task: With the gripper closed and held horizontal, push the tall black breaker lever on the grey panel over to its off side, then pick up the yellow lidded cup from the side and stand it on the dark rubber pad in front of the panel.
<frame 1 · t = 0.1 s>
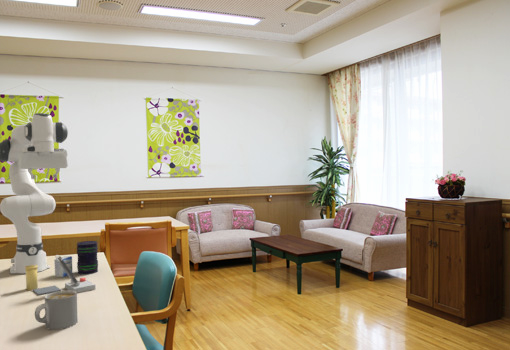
hand: (44, 178, 201), 48 cm above the table, tool pointing down, fingers open, 8 cm apart
yellow lidded cup: (32, 288, 192), on the table
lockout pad: (46, 290, 188), on the table
storage jar: (87, 272, 221), on the table
panel: (80, 288, 191), on the table
toggle: (67, 270, 187), point 9 cm above the table, hinge at 30.0°
coffee mug: (56, 325, 147), on the table
medicine box: (63, 275, 216), on the table
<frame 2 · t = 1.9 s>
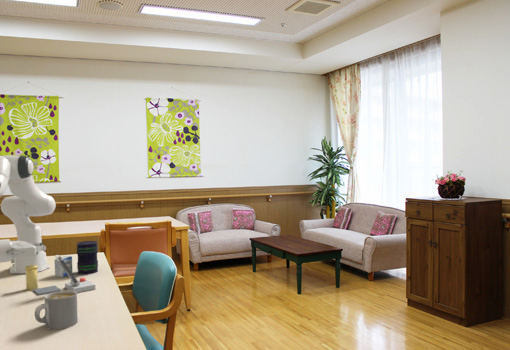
hand: (42, 246, 181), 21 cm above the table, tool horizontal, fingers open, 8 cm apart
nothing on the table moved.
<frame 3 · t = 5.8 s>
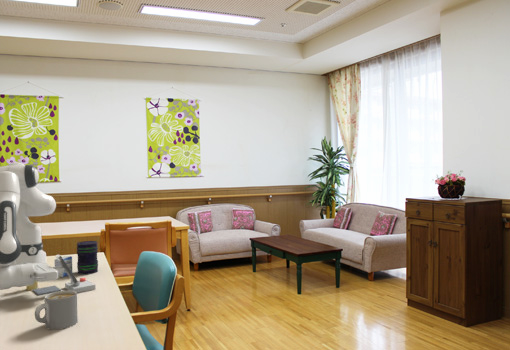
hand: (63, 268, 186), 10 cm above the table, tool horizontal, fingers closed, pressing on toggle
toggle: (67, 270, 187), point 9 cm above the table, hinge at 29.1°, touching gripper
everything else where it was.
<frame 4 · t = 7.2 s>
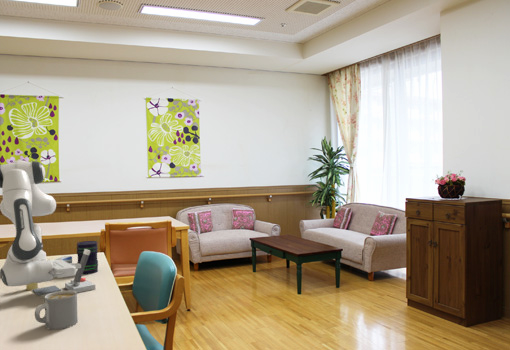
hand: (80, 265, 190), 10 cm above the table, tool horizontal, fingers closed, pressing on toggle
toggle: (81, 267, 191), point 9 cm above the table, hinge at -21.4°, touching gripper
everything else where it was.
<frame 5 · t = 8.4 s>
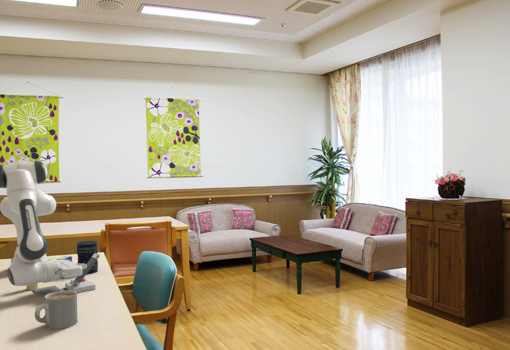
hand: (86, 265, 192), 10 cm above the table, tool horizontal, fingers closed, pressing on toggle
toggle: (86, 269, 192), point 8 cm above the table, hinge at -41.0°, touching gripper
everything else where it was.
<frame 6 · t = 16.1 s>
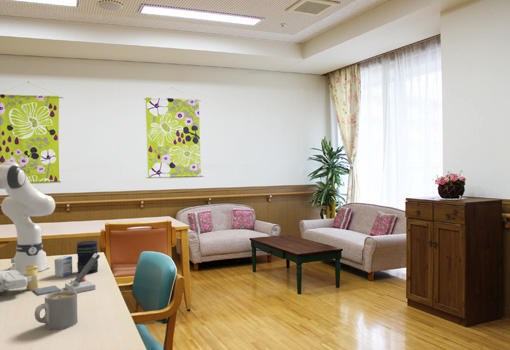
hand: (33, 276, 192), 6 cm above the table, tool horizontal, fingers closed on yellow lidded cup, 4 cm apart
yellow lidded cup: (32, 288, 192), on the table, touching gripper
toggle: (86, 269, 192), point 8 cm above the table, hinge at -41.1°
everything else where it was.
when the fingers open (7 cm above the table, at t = 20.2 s): yellow lidded cup stays where it is, resting on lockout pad.
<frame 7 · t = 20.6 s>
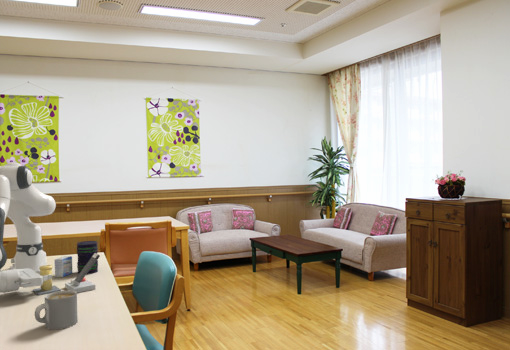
hand: (48, 274, 189), 7 cm above the table, tool horizontal, fingers open, 8 cm apart
yellow lidded cup: (46, 289, 188), point 1 cm above the table, touching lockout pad
everything else where it was.
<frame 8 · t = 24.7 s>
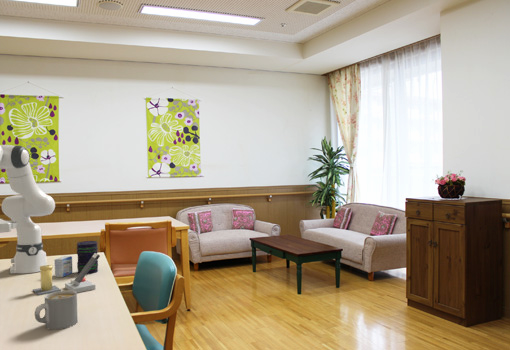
hand: (18, 223, 181), 30 cm above the table, tool horizontal, fingers open, 8 cm apart
nothing on the table moved.
at the end: toggle at -41° (first picture: +30°); yellow lidded cup inside the target area on the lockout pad (0.0 cm from its centre), point 0.6 cm above the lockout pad's base; yellow lidded cup tilted 0° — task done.
